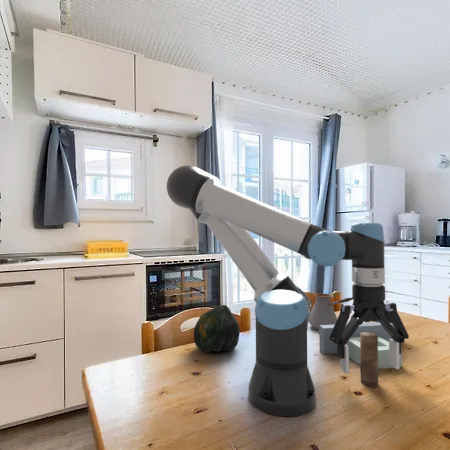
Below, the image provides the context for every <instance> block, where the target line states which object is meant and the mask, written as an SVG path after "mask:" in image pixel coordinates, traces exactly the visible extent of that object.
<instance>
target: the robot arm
mask: <svg viewBox="0 0 450 450" xmlns="http://www.w3.org/2000/svg"><path fill="white" fill-rule="evenodd" d="M166 192H167V195H168V197H169V199H170V200H171V201H172V202H173V203H174V205H177V206H178V207H181V208H185V209H189V210H190V211H191V213H192V215H193V216H194V217H195V219H196V220H197V221H198V223H201V224H205V225H207V227H208V228H209V229H210V231H211V233H212V234H213V235H214V237H215V238H216V239H217V241H218V242H219V243H220V245H221V246H222V248H223V249H224V250H225V252H226V254H228V256H229V257H230V259H231V260H232V261H233V263H234V264H235V266H236V267H237V269H238V270H239V272H240V273H241V274H242V277H244V278H245V279H246V281H247V282H248V284H249V285H250V287H251V289H253V291H254V296H253V300H254V302H255V307H254V315H255V364H254V367H253V370H252V373H251V376H250V379H249V382H248V399H249V401H250V403H251V404H252V405H253V406H254V407H255V408H256V409H258V410H259V411H262V412H264V413H267V414H269V415H273V416H279V417H298V416H303V415H306V414H307V413H309V412H311V411H312V410H314V408H315V406H316V402H317V399H316V397H317V394H316V393H317V391H316V388H315V385H314V381H313V378H312V375H311V372H310V369H309V366H308V365H309V364H308V326H309V318H310V313H311V311H312V309H311V303H310V300H309V297H308V296H307V294H306V293H305V291H303V290H302V289H301V288H300V287H298V286H296V284H295V282H294V281H293V280H292V279H291V277H290V276H289V275H288V274H285V273H281V272H280V271H278V270H277V268H276V266H275V265H274V264H273V263H272V261H271V260H270V258H269V257H268V256H267V255H266V253H265V252H264V250H263V249H262V248H261V246H260V245H259V244H258V242H257V241H256V240H255V239H254V237H253V235H251V233H253V234H254V235H257V236H259V237H261V238H263V239H266V240H268V241H270V242H273V243H274V244H277V245H278V246H281V247H283V248H285V249H288V250H291V251H292V252H295V253H296V254H298V255H300V256H303V257H304V258H305V259H307V260H311V261H312V262H314V263H315V264H317V265H319V266H322V267H325V268H326V267H327V268H328V267H333V266H335V265H337V264H339V263H340V262H341V261H351V281H352V282H353V283H352V284H351V288H352V290H351V291H352V292H351V293H352V295H351V298H352V297H353V300H352V304H347V303H346V302H343V303H340V312H339V314H338V317H337V321H336V323H335V326H334V328H333V330H332V333H331V335H330V337H329V339H330V340H331V341H332V342H333V343H335V344H337V354H336V355H337V357H338V359H339V358H340V359H339V361H340V362H339V364H340V366H339V367H340V368H339V369H340V370H341V371H343V372H344V373H345V374H350V357H349V346H347V345H346V343H347V342H348V340H349V339H350V338H351V336H352V335H353V334H354V332H355V331H356V329H357V328H358V327H359V325H361V324H362V323H374V322H377V321H379V323H380V324H381V325H382V326H383V328H384V329H385V330H386V331H387V332H388V334H389V335H390V336H391V337H392V338H393V340H392V339H389V365H391V366H393V368H395V369H396V370H400V368H401V367H399V354H401V349H402V344H404V343H405V342H406V341H405V340H409V338H410V336H409V334H408V331H407V329H406V327H405V325H404V323H403V320H402V319H401V316H400V315H399V312H398V308H397V304H396V303H395V302H393V301H390V300H387V301H385V300H386V286H385V285H383V284H385V283H386V278H385V273H386V271H385V269H386V267H385V242H386V241H385V237H384V226H383V225H382V224H381V223H379V222H362V223H361V222H360V223H359V222H355V223H352V224H351V225H350V226H351V227H350V230H343V231H342V230H341V231H339V230H328V229H325V228H324V227H321V226H319V225H316V224H314V223H311V222H310V221H306V220H304V219H302V218H299V217H297V216H294V215H293V214H290V213H288V212H285V211H282V210H280V209H278V208H276V207H274V206H271V205H268V204H266V203H263V202H261V201H259V200H256V199H254V198H252V197H249V196H247V195H245V194H242V193H240V192H238V191H235V190H233V189H231V188H228V187H225V186H224V185H223V183H222V181H221V180H220V179H219V178H218V177H217V176H216V175H214V174H213V173H210V172H207V171H205V170H203V169H201V168H199V167H197V166H193V165H189V164H188V165H183V166H179V167H177V168H175V169H174V170H173V171H172V172H171V173H170V174H169V176H168V178H167V181H166ZM385 309H386V310H387V313H388V315H389V317H390V319H391V321H392V323H393V325H394V327H395V329H396V330H395V329H394V328H393V326H392V325H391V324H390V323H389V322H388V319H387V318H386V317H385V316H384V314H383V312H384V311H385ZM352 313H353V314H352ZM349 319H350V320H349ZM346 324H347V325H346Z"/></svg>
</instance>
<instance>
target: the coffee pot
mask: <svg viewBox="0 0 450 450" xmlns="http://www.w3.org/2000/svg"><path fill="white" fill-rule="evenodd" d="M314 297H315V302H314V304H313V307H312V309H311V313H310V318H309V322H308V324H309V325H310V326H311V327H312V328H313V327H314V328H315V329H314V328H313V329H314V330H318V331H319V325H335V323H336V321H337V319H338V317H337V313H336V312H335V309H334V307H333V306H334V305H336V304H342V303H347V302H350V301H353V297H352V296H351V297H345V298H344V299H340V300H337V301H333V302H331V298H332V297H333V296H332V294H329V293H314Z"/></svg>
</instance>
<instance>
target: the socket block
mask: <svg viewBox="0 0 450 450" xmlns="http://www.w3.org/2000/svg"><path fill="white" fill-rule="evenodd" d="M346 345H347V346H349V359H351V360H352V361H354V362H355V363H356V364H358V365H359V366H360V367H361V364H360V337H351V338H350V339H349V340H348V342H347V343H346ZM402 367H403V350H402V348H401V354H399V368H402ZM390 368H394V367H393V366H391V365H389V342H388V341H386V340H384V339H382V338H380V337H379V336H378V370H379V369H390Z"/></svg>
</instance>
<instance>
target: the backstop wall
mask: <svg viewBox="0 0 450 450" xmlns="http://www.w3.org/2000/svg"><path fill="white" fill-rule="evenodd" d="M389 323H390V322H389ZM347 324H348V323H347ZM347 324H346V325H347ZM390 324H391V325H392V326H393V328H394V325H393V324H392V323H390ZM334 326H335V325H319V330H318V332H319V351H320V353H322V354H323V355H334V354H335V355H337V344H335V343H333V342H332V341H331V340H330V339H329V337H330V335H331V333H332V330H333V328H334ZM362 332H370V333H374V334H376V335H378V336H379V337H380V338H382V339H384V340H386V341H388V342H389V339H392V340H393V338H392V337H391V336H390V335H389V334H388V332H387V331H386V330H385V329H384V328H383V326H382V325H381V324H380V323H379V322H363V323H362V324H361V325H359V327H358V328H357V329H356V331H355V332H354V334H353V335H352V336H351V337H360V333H362Z"/></svg>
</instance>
